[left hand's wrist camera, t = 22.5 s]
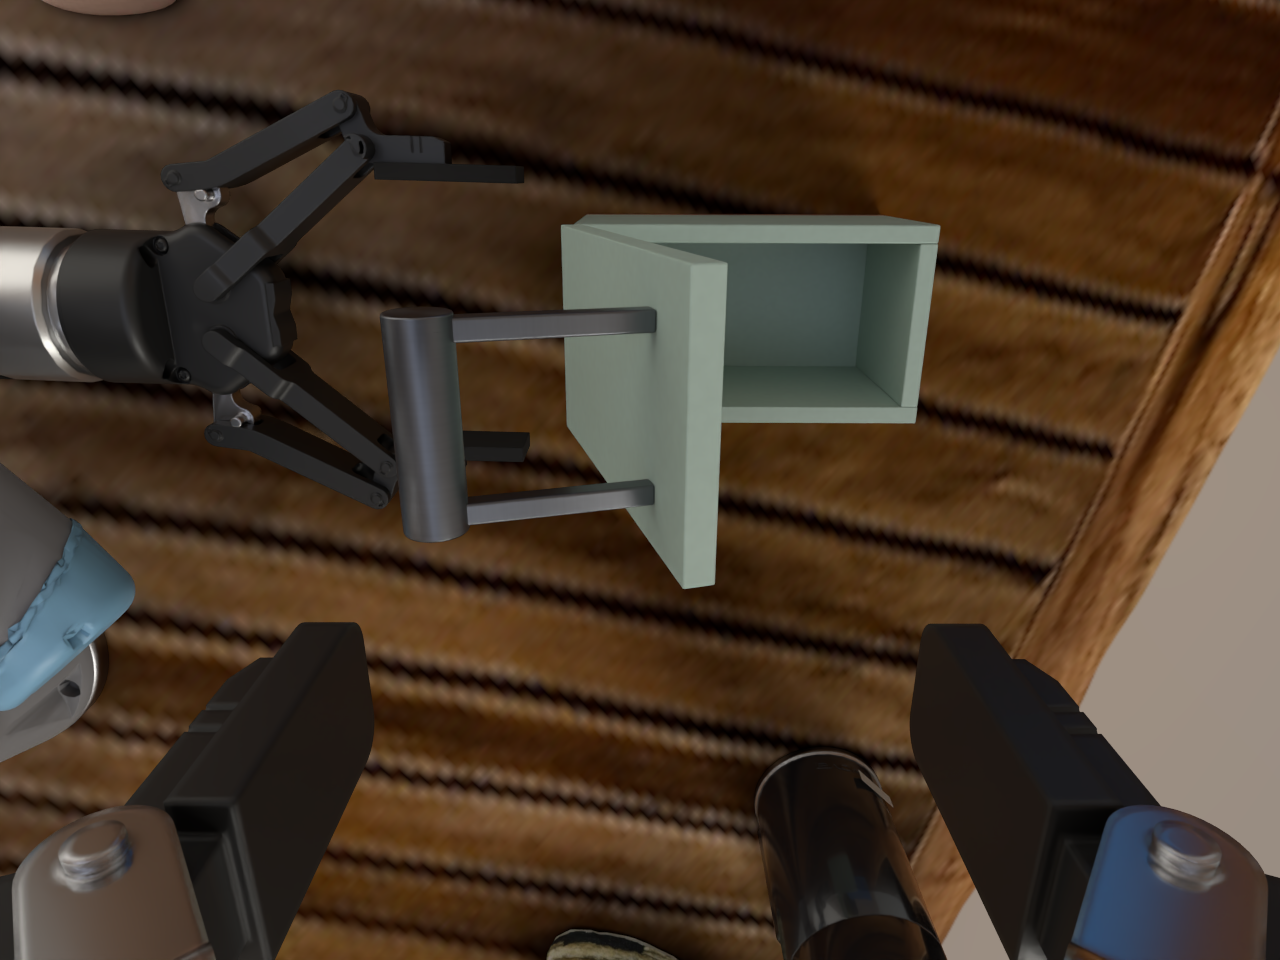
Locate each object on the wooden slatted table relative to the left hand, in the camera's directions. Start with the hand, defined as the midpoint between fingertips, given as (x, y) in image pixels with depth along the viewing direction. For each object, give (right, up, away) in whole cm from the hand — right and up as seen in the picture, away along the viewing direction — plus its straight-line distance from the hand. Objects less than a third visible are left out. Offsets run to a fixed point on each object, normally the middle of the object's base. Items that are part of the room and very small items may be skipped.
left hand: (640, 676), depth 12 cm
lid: (0, +7, +19) cm, 20 cm away
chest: (+5, +14, +36) cm, 39 cm away
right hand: (-6, +11, +29) cm, 32 cm away
